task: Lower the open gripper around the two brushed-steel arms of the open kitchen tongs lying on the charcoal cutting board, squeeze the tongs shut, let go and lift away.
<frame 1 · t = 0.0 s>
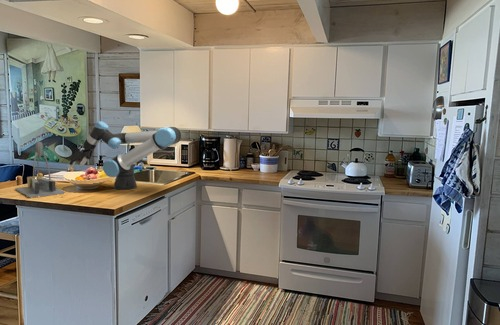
hand: (75, 166, 240), 15 cm above the countertop, tool tilted 35°, fingers open, 13 cm apart
pivot block: (34, 181, 238), on the cutting board, point 5 cm above the countertop
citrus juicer: (39, 183, 257), on the countertop
tong arm a: (46, 184, 232), point 5 cm above the countertop, hinge at 10.0°
tong arm b: (35, 185, 227), point 5 cm above the countertop, hinge at -10.0°
cutting board: (35, 189, 237), on the countertop
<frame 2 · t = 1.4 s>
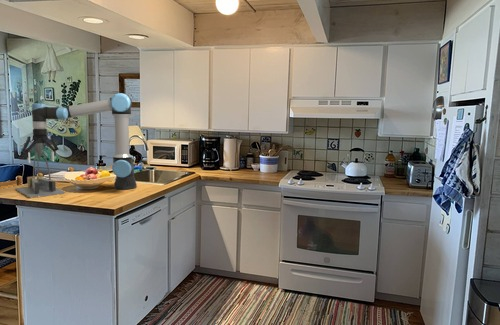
hand: (41, 162, 225), 20 cm above the countertop, tool pointing down, fingers open, 13 cm apart
nothing on the countertop moved.
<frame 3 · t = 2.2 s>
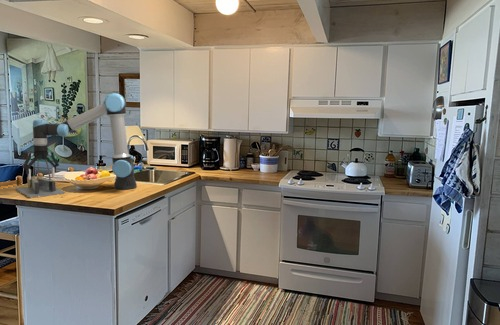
hand: (41, 178, 226), 10 cm above the countertop, tool pointing down, fingers open, 13 cm apart
nothing on the countertop moved.
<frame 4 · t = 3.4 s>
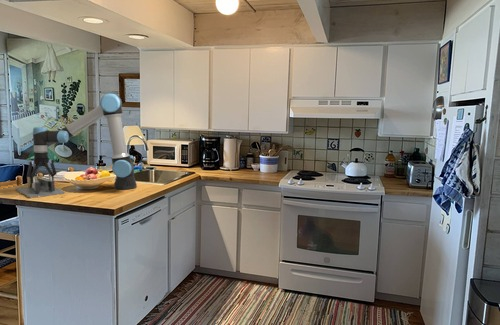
hand: (42, 186, 227), 4 cm above the countertop, tool pointing down, fingers open, 9 cm apart
tong arm a: (45, 184, 231), point 5 cm above the countertop, hinge at 8.4°, touching gripper
tong arm b: (35, 185, 227), point 5 cm above the countertop, hinge at -8.9°, touching gripper
everything else where it was.
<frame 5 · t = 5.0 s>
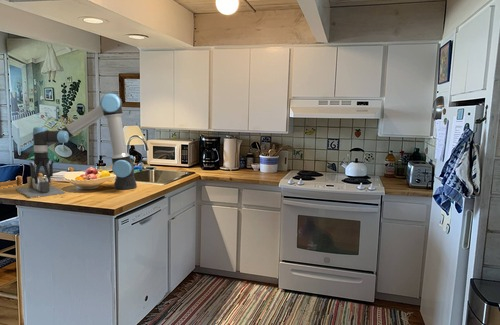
hand: (42, 188, 227), 3 cm above the countertop, tool pointing down, fingers open, 4 cm apart
tong arm a: (42, 184, 230), point 5 cm above the countertop, hinge at -0.8°
tong arm b: (39, 185, 228), point 5 cm above the countertop, hinge at 0.3°
everything else where it was.
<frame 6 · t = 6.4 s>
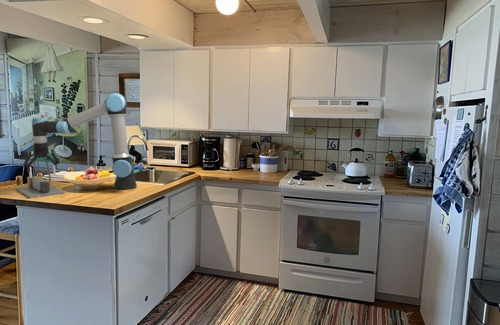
hand: (42, 176, 226), 11 cm above the countertop, tool pointing down, fingers open, 13 cm apart
nothing on the countertop moved.
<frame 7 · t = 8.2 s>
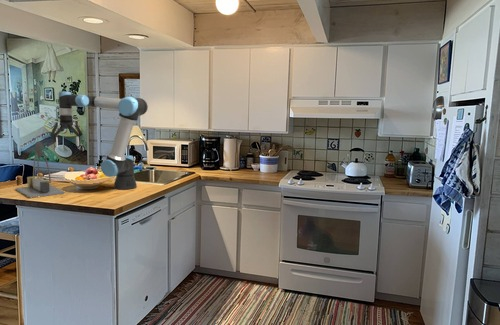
hand: (67, 146, 242), 28 cm above the countertop, tool pointing down, fingers open, 13 cm apart
nothing on the countertop moved.
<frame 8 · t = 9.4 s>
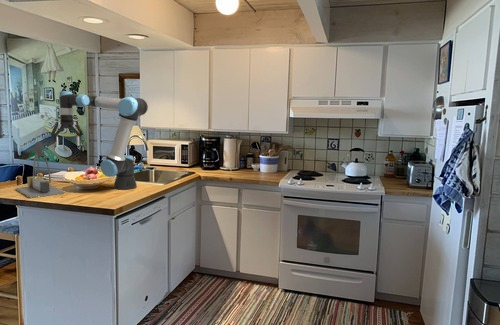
hand: (67, 146, 243), 29 cm above the countertop, tool pointing down, fingers open, 13 cm apart
nothing on the countertop moved.
at the end: tong arm a at -1° (first picture: +10°); tong arm b at +0° (first picture: -10°) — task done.
